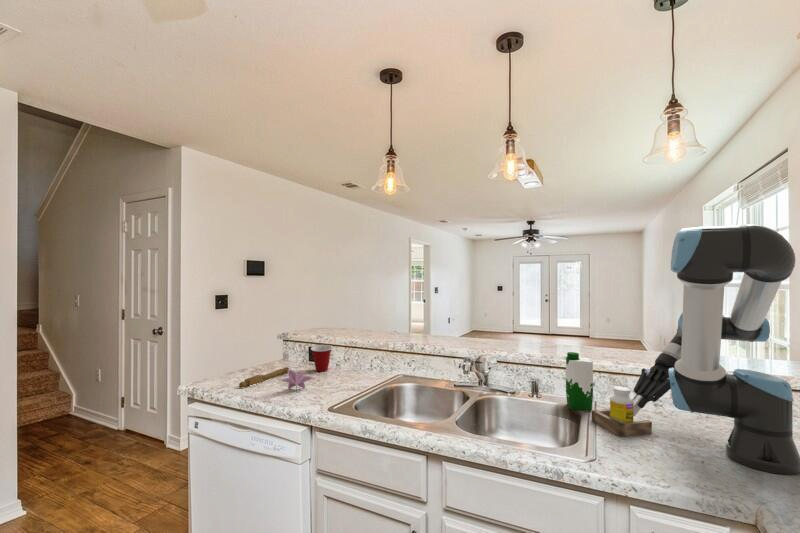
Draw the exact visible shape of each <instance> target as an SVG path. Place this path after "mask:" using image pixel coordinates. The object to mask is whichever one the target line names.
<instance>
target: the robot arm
mask: <svg viewBox="0 0 800 533" xmlns="http://www.w3.org/2000/svg"><path fill="white" fill-rule="evenodd" d="M672 244H673V245H672V249H671V256H670V257H671V258H670V271H672V272H673V273H676V277H677V280H679V281H680V282H681V283H683V292H682V295H683V296H682V312H681V313H680V316H679V318H678V320H677V329H676V333H675V335H674V336H673V338H672V339H671V340H670V341H669V342H668V344H667V345H666V346H665V347H664V349H662V351H661V353H660V354H659V355H658V356H657V357H656V358H655V361H654V365H653V366H651V367H650V368H649V369H646V368H641V372H640V373H641V374H640V376H639V378H638V380H637V382H636V384H635V386H634V387H633V392H634V393H635V396H634V397H633V398H632V399H633V417H636V415H637V414H638V413H639V412H640V410H641V409H643V408H645V406H646V405H647V403H648V402H653V403H655V402H657V401H659V399H660V398H662V397H663V396H664V395H665V394H666V393H668V392H669V391H670V392H671V398H672V404H673V406H674V407H675V408H676V409H677V410H681V411H685V412H690V413H697V414H703V415H710V416H717V417H726V418H732V419H733V428H732V430H731V432H730V435H729V437H728V439H727V441H726V444H725V453H726V455H727V456H728V457H729V458H730V459H732V460H733V461H735V462H737V463H739V464H742V465H744V466H746V467H749V468H752V469H756V470H757V471H758V470H759V471H762V472H766V473H767V472H768V473H771V474H777V475H788V476H789V475H791V476H792V475H798V474H800V454H799V451H798V448H797V445H796V443H795V441H794V438H793V432H794V431H793V428H794V427H793V426H794V425H793V421H794V420H793V416H794V415H793V402H794V397H793V396H794V395H793V390H792V389H793V388H792V385H791V384H790V383H789V382H788V381H787V380H785V379H784V378H781V377H778V376H775V375H772V374H769V373H765V372H761V371H757V370H750V369H744V368H743V369H742V368H741V369H740V368H736V369H734V370H733V371H732V374H731V373H730V374H728V373H727V371H726V369H725V368H724V366H722V364H720V362H721V360H720V359H721V346H722V345H721V344H722V340H727V341H728V340H729V341H741V342H748V343H749V342H750V343H754V342H755V343H757V342H758V343H759V342H760V343H764V342H767V341H768V340H769V339H770V334H771V327H770V326H771V325H770V322H769V320H768V318H766V317H767V315H768V312H769V310H770V308H771V307H772V303H773V301H774V299H775V298H776V295H777V293H778V290H779V288H780V286H781V284H782V282H783V281H786V280H787V279H788V278H789V277H790V276H791V275H792V274H793V272H794V268H795V266H796V254H795V252H794V249H793V247H792V244H791V243H790V242H789V241H788V240H787V239H786V238H785V237H784V236H783V235H782V234H780V233H779V232H777V231H776V230H774V229H772V228H769V227H767V226H762V225H758V224H743V225H720V226H718V225H717V226H715V225H714V226H696V227H695V226H694V227H685V228H682V229H680V230H678V232H677V233H676V234H675V237H674V240H673V243H672ZM734 273H743V276H742V279H741V282H740V284H739V287H738V291H737V294H736V296H735V301H734V303H733V307H732V309H731V314H730V315H725V314H724V312H723V311H724V299H725V298H724V296H725V286H726V285H728V284H730V283H731V282H732V281H733V278H734ZM723 314H724V315H723Z"/></svg>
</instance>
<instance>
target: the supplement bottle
mask: <svg viewBox="0 0 800 533" xmlns="http://www.w3.org/2000/svg"><path fill="white" fill-rule="evenodd" d="M612 391H613V394H611V395H610V397H609V409H610V418H612V419H614V420H616V421H618V422H620V423H624V422H634V416H633V399H634V398H632V397H631V396H630V394H631V390H630V388H629V387H625V386H620V385H619V386H617V385H616V386H613V390H612Z"/></svg>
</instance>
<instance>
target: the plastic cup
mask: <svg viewBox="0 0 800 533" xmlns="http://www.w3.org/2000/svg"><path fill="white" fill-rule="evenodd" d="M332 349H333V346H332V345H328V344H318V345H314V346H312V347H310V351H311V352H312V356H313V361H314V362H313V363H314V366H315V371H316V372H319V373H321V372H322V373H323V372H328V369H329V364H330V358H331V353H332Z"/></svg>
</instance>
